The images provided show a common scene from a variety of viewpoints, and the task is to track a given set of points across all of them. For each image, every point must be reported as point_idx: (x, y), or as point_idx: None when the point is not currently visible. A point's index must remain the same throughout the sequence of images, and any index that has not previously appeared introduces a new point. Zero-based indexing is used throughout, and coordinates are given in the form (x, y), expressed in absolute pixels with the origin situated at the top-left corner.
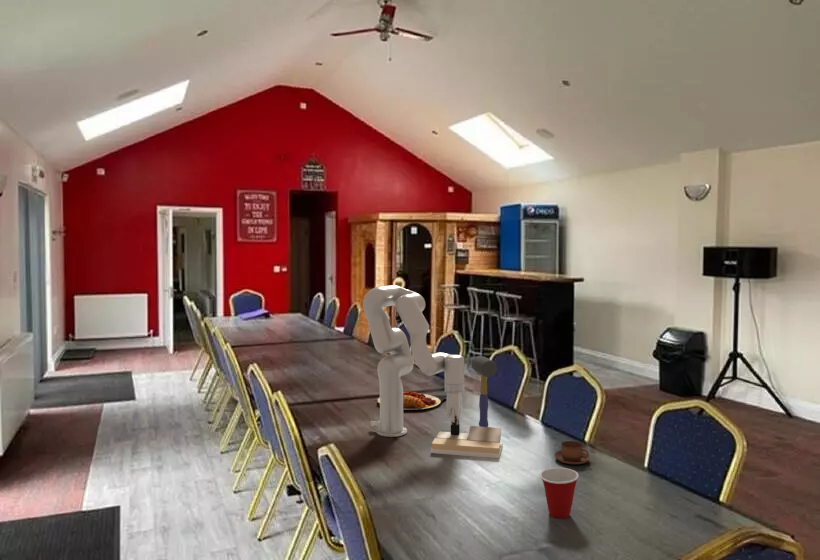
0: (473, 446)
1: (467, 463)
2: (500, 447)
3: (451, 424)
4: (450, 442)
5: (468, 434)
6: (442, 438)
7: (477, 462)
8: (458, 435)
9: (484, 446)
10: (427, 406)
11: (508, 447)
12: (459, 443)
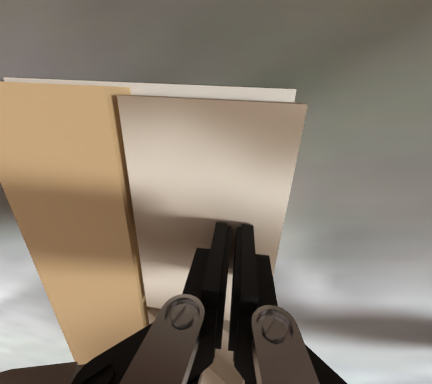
0: (59, 323)
1: (7, 262)
2: None
3: (167, 308)
4: (58, 221)
5: None
6: (129, 157)
7: (37, 291)
8: None
9: (83, 357)
10: None
11: None
12: (69, 269)
